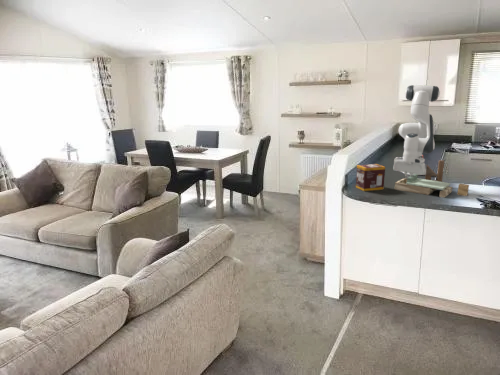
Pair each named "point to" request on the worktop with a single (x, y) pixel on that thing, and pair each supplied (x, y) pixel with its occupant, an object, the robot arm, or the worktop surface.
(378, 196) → the worktop surface
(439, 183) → the lid
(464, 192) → the brown wood block
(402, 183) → the tan piece
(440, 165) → the brown wooden bracket
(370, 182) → the supplement box
